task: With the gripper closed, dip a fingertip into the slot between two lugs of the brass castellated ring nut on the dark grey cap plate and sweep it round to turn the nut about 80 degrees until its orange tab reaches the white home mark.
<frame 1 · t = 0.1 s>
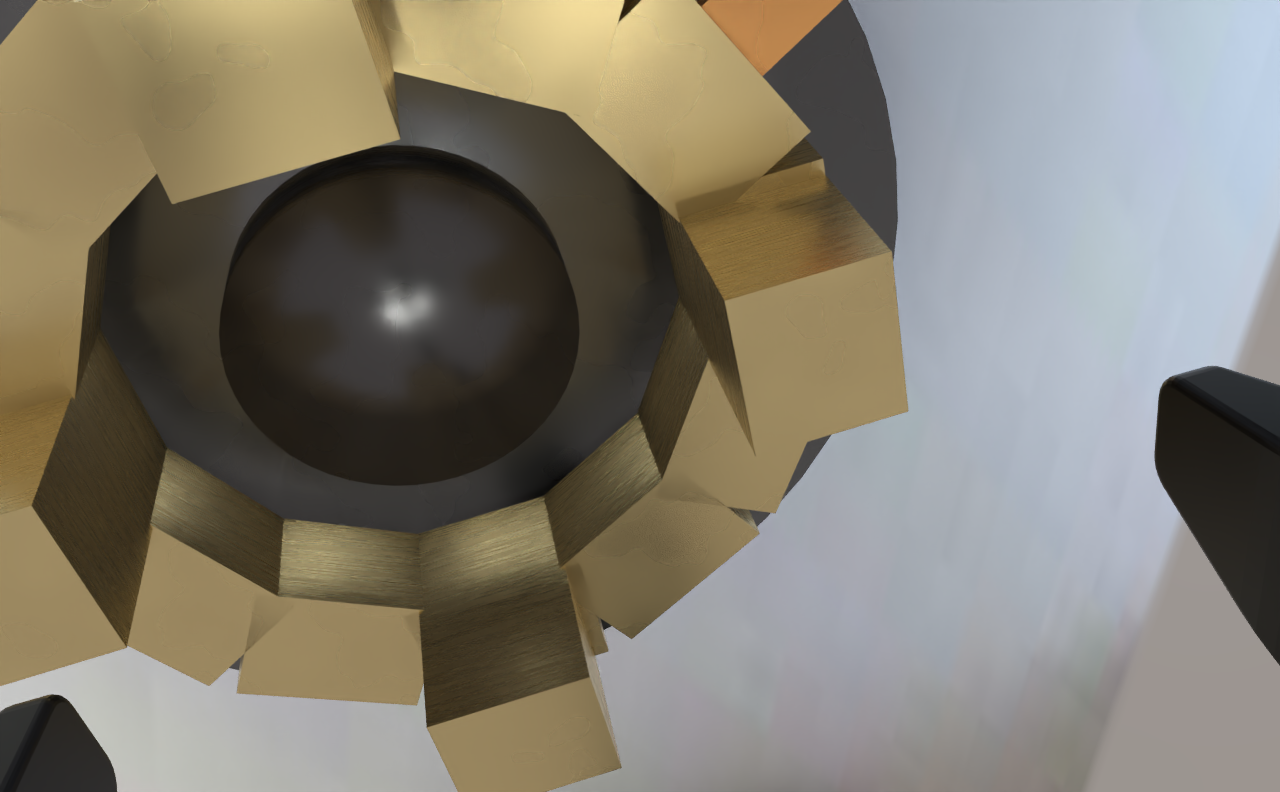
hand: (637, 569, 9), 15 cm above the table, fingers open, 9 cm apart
cap plate: (400, 280, 24), on the table
ring nut: (434, 379, 20), point 4 cm above the table, hinge at 0.0°
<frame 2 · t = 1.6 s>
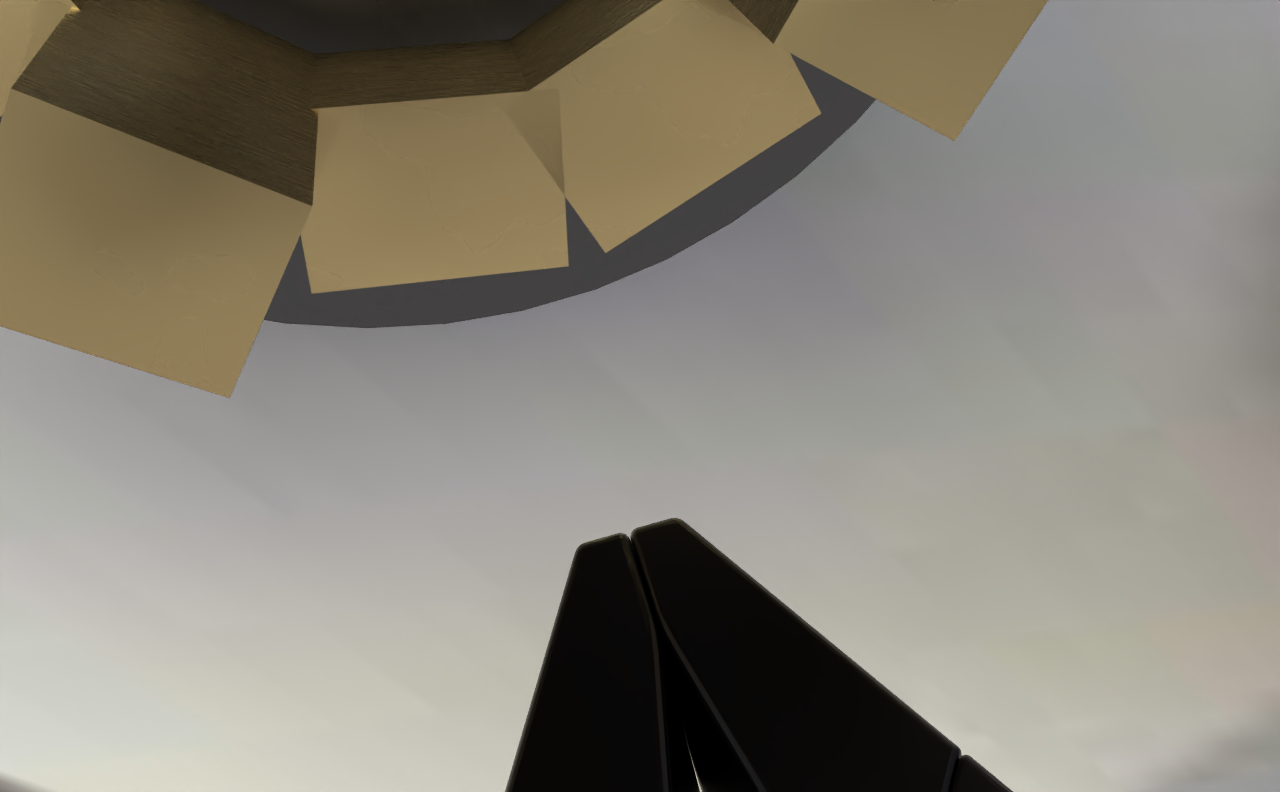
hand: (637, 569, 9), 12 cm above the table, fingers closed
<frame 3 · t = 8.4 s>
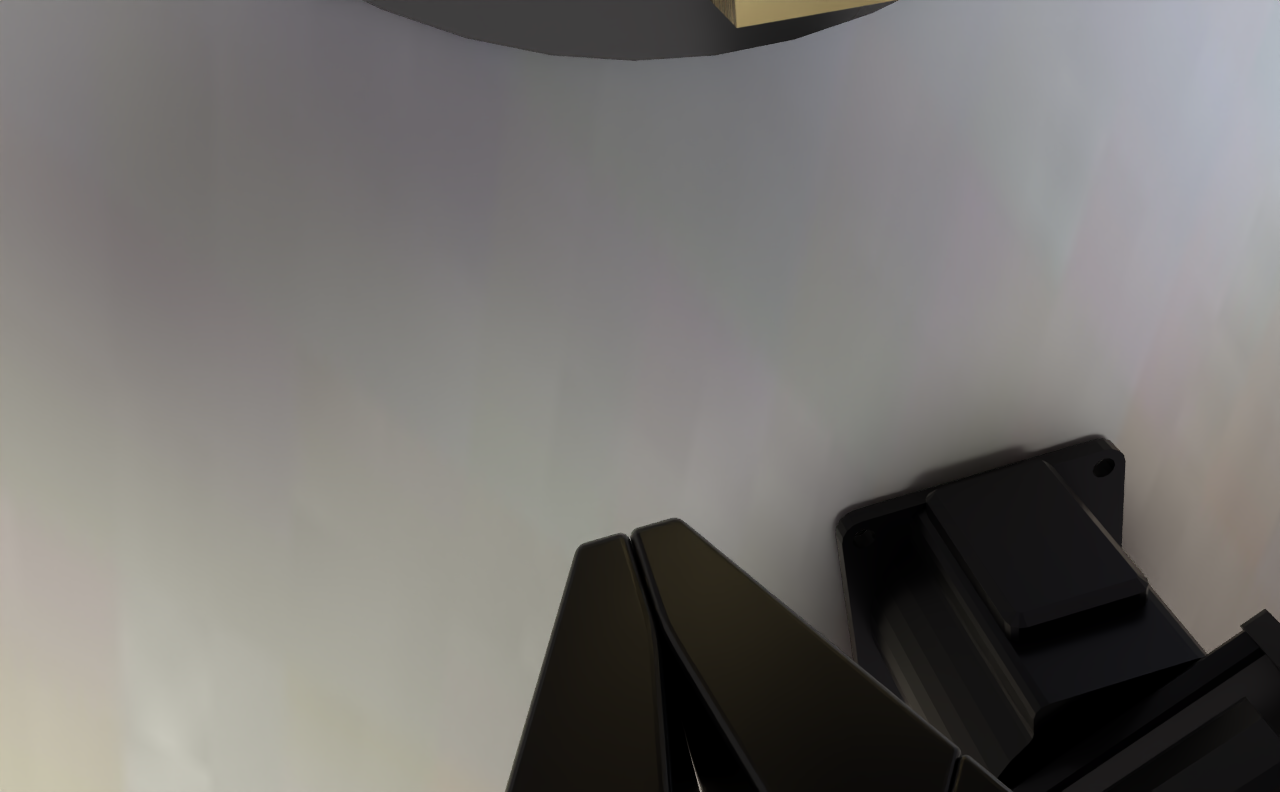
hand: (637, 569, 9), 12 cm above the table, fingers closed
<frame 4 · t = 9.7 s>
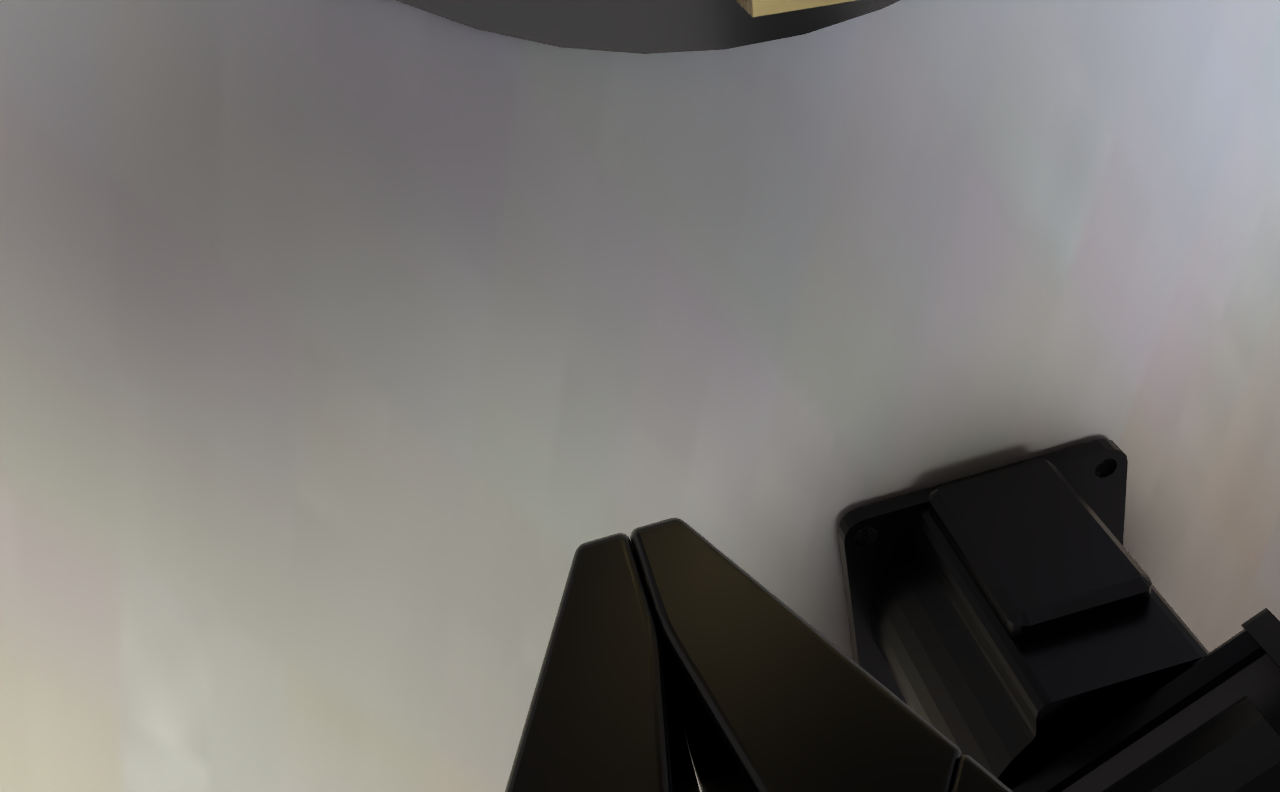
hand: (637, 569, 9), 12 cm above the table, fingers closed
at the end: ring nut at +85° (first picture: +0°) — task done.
